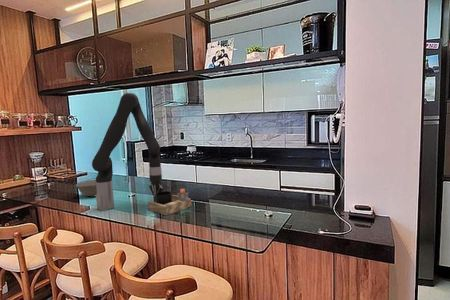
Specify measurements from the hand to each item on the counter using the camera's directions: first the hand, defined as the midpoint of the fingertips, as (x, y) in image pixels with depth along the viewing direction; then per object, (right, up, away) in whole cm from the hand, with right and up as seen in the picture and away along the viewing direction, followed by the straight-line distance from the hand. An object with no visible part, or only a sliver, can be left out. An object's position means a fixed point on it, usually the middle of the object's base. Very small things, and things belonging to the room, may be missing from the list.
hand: (157, 200), depth 184 cm
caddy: (+10, -3, -8) cm, 13 cm away
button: (+18, +5, -10) cm, 21 cm away
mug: (+7, -3, -6) cm, 9 cm away
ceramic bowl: (-55, -2, +33) cm, 64 cm away
